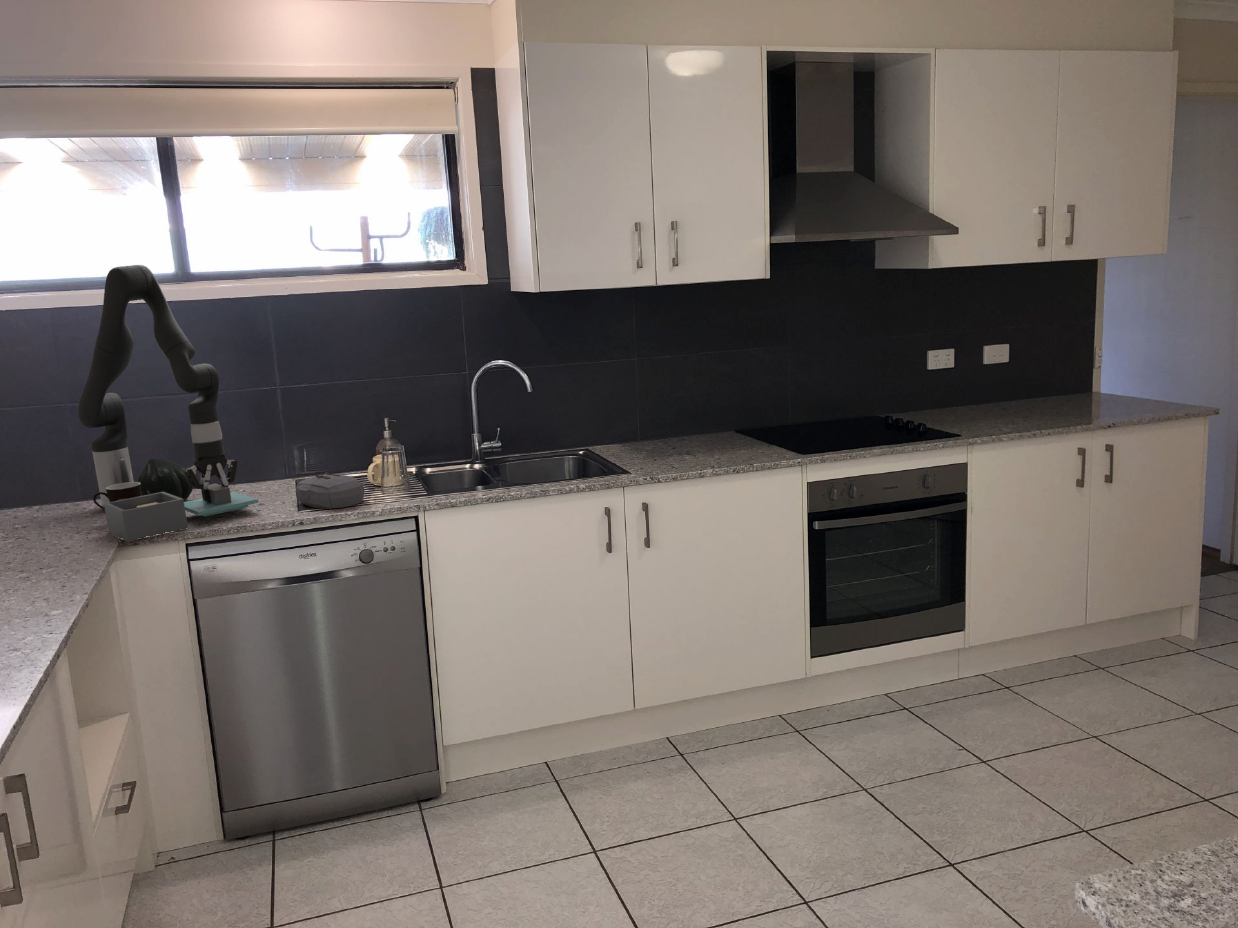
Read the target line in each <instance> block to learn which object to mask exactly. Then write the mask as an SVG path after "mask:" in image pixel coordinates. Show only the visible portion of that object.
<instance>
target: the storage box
mask: <svg viewBox="0 0 1238 928" xmlns="http://www.w3.org/2000/svg"><path fill="white" fill-rule="evenodd" d="M184 502H185V500H183V499H182V498H179V497H177V496H174V495H171V494H168V493H166V492H159V493H154V494H149V495H144V496H139V497H134V498H129V499H124V500H119V501H114V502H109V503H104V507H105V510H104V511H105V512H104V513H105V517H106V518H105V519H106V523H107V528H108V534H109V535H111V536H113V537H116V538H118V537H119V538H118V539H120V538H123V539H124V540H125V541H126V542H125V541H124V542H125V543H132V542H135V540H136V541H138V540H137V539H138V538H144V537H146V536H153V535H156V534H163V533H165V532H171V531H176V532H178V531H177V530H180V529H185V530H187V529H186V528H188V529H189V525H188V520H187V514H186V513H187V511H186V510H185V506H184ZM180 531H181V530H180ZM163 535H164V534H163Z"/></svg>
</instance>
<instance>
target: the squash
mask: <svg viewBox="0 0 1238 928" xmlns="http://www.w3.org/2000/svg"><path fill="white" fill-rule="evenodd" d="M185 469H186V467H184V466H182V465H180V464H178V463H176V462H173V461H171V460H166V459H163V458H158V457H157V458H156V457H153V458H149V459H148V461H146V464H145V466H144V467H143V468H142V471H141V472H140V474H139V476H138V478H137V479H138V480H137V482H139V483H141V496H144V495H149V494H154V493H159V492H166V493H168V494H171V495H174V496H177V497H179V498H182V499H183V500H184V501H186V500H187V499H188V498H189V497H190V495H191V493H192V492H193V488H194V487H193V485H192V483H191V481H190V480H189V478H188V476H187V474H186V472H185Z"/></svg>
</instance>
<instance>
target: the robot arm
mask: <svg viewBox="0 0 1238 928" xmlns="http://www.w3.org/2000/svg"><path fill="white" fill-rule="evenodd" d="M105 278H106V279H105V283H104V294H103V302H102V312H101V318H100V324H99V328H98V333H97V336H96V339H95V345H94V347H93V348H94V349H93V353H92V354H93V355H92V360H91V362H90V363H91V365H90V368H89V372H88V376H87V379H86V382H85V384H84V387H83V390H82V392H81V396H80V399H79V402H78V407H77V409H78V410H77V411H78V412H77V414H78V415H77V416H78V419H79V421H80V423H81V424H82V426H84V427H85V428H88V429H89V428H90V429H95V428H102V427H104V431H103V432H102V433H101V434H99V436H97V437H96V438H95V439H93V440H92V441H91V444H90V445H91V452H92V456H93V457H92V458H93V463H94V466H95V467H94V468H95V475H96V479H97V484H98V485H97V486H98V490H99V493H100V492H103V493H107V492H106V487H108V486H111V485H115V484H120V483H128V482H135V481H134V475H133V470H132V464H131V459H130V452H129V448H128V447H129V446H128V437H129V436H128V427H127V417H126V410H125V405H124V402H123V400H122V398H121V396H120V395H119V394H117V393H115V392H108V390H109V389H110V387H111V386H112V384H113V383H114V382H115V381H116V380H118V379H119V377H120V376H121V375H122V374H123V373H124V372H125V370H126V369H127V368H128V366H129V364H130V361H131V358H132V355H133V350H134V344H135V341H134V337H133V335H132V331H131V329H130V328H129V326H128V324H127V322H126V310H127V307H128V304H129V303H130V302H135V301H142V300H143V301H144V302H145V303H146V304H147V306H148V307H149V309H150V311H151V313H152V319H153V336H154V339H155V341H156V342H157V344H158V346H159V348H160V349H161V351H162V352H163V354H164V355H165V356H166V358H167V359H168V361H169V364H170V368H171V370H172V373H173V378H174V380H175V382H176V384H177V385H178V387H179V388H180V389H181V390H182V391H184V392H186V393H188V394H190V393H191V394H194V393H197V396H196V399H195V400H193V401H192V402H190V403H189V404H188V407H187V408H188V415H189V421H190V422H189V423H190V434H191V442H192V448H193V454H194V455H193V456H194V459H195V460H194V464H193V465H192V466H191V467H185V472H186V474H187V476H188V478H189V480H190V481H191V483H192V485H193V488H194V489H198V490H200V491H201V490H202V492H201V496H202V495H203V500H204V501H206V503H211V499H210V493H209V489H208V485H210V484H209V483H210V480H211V477H213V476H216V477H217V478H218V480H219V483H220V485H222V486H225V487H228V488H229V485H230V483H234V482H235V478H236V474H237V468H238V463H239V462H238V461H237V460H236V459H235V460H234V459H227V457H226V454H225V449H224V448H225V447H224V441H223V440H224V439H223V432H222V427H221V425H220V421H219V415H218V414H219V413H218V407H217V406H218V405H217V404H218V397H219V396H218V395H219V390H220V389H219V387H220V376H219V372H218V371H217V370H216V368H215V367H214V366H213V365H212V364H211V363H199V364H194V365H192V364H191V362H190V361H191V360H192V359H194V357H195V355H196V350H195V348H194V346H193V345H192V343H191V341H190V340H189V339H188V337H187V336H186V334H185V333H184V331H183V329H181V327H180V325H179V323H178V322H177V320H176V319H175V316H174V315H173V312H172V310H171V307H170V306H169V304H168V301H167V299H166V297H165V295H164V292H163V291H162V288H161V286H160V284H159V282H158V280H157V277H156V276H155V275H154V273H153V272H152V271H151V269H150V268H149V267H148V266H146V265H143V264H132V265H123V266H122V265H120V266H116V267H113V268H111V269H110V270H108V273H107V275H106V277H105ZM226 466H227V468H228V471H227V474H226V473H225V470H224V469H225V468H226ZM197 471H198V472H199V473H200V481H199V479H198V478H197V476H196V474H197ZM99 496H100V501H101V506H103V507H104V503H109V502H110V501H109V499H108V498H107V497H106V496H105V495H102V494H100V495H99ZM102 510H103V511H105V510H104V509H102Z"/></svg>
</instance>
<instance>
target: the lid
mask: <svg viewBox="0 0 1238 928" xmlns="http://www.w3.org/2000/svg"><path fill="white" fill-rule="evenodd" d="M208 489H209V493H210V499H211V503H206V501H204V500H203V495H202V494H201V497H202V498H198V499H193V500H187V501H184V506H185V512H188V513H191V514H194V515H196V516H198V517H199V516H202V517H208V516H212V515H217V514H223V513H226V512H233V511H235V510H240V509H245V508H249V506H250V505H254V504H258V503H259V499H258V498H256V497H252V496H249V495H246V494H243V493H240V492H236V491H231V490H230V487H229V486H228V487H225V486H222V485H221V484H218V483H212V484H208ZM200 491H201V493H202V490H201V489H200Z"/></svg>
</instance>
